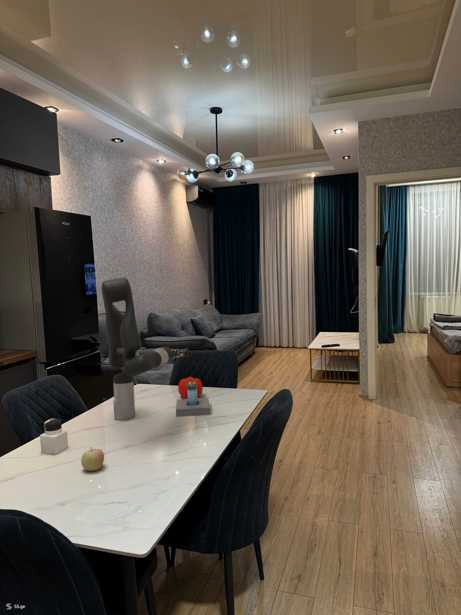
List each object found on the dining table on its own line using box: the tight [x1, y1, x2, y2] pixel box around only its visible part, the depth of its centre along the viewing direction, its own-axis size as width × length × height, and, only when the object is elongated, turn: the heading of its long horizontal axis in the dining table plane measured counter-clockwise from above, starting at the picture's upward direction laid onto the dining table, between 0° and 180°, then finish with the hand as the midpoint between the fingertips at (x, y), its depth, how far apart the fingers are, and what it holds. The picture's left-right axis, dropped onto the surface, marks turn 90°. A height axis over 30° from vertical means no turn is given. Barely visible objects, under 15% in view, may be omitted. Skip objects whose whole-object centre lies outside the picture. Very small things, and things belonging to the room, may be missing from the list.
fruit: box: [80, 447, 105, 472], centre depth 146 cm, size 8×7×8 cm
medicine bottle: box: [39, 418, 69, 456], centre depth 163 cm, size 7×7×12 cm
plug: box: [187, 382, 198, 405], centre depth 206 cm, size 5×5×14 cm
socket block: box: [175, 397, 211, 418], centre depth 206 cm, size 16×16×4 cm
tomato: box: [177, 376, 204, 399], centre depth 228 cm, size 14×13×10 cm
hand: (179, 350), depth 193 cm, fingers open, 8 cm apart
